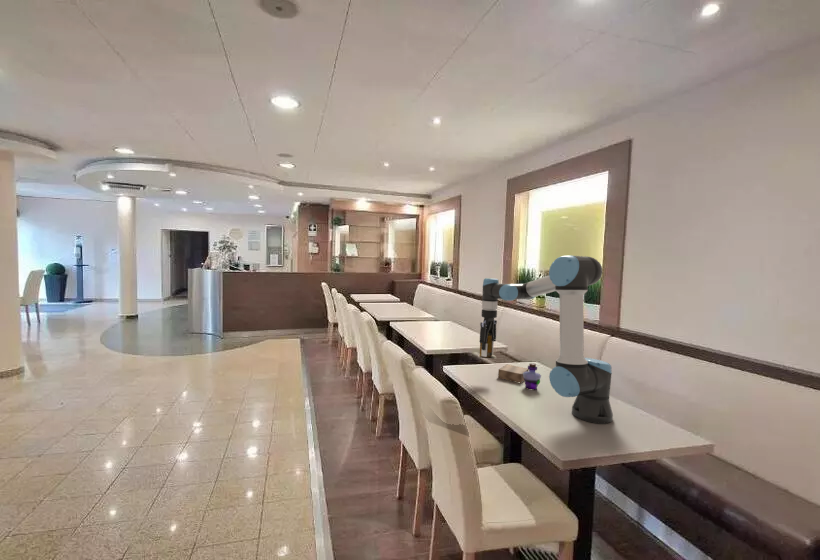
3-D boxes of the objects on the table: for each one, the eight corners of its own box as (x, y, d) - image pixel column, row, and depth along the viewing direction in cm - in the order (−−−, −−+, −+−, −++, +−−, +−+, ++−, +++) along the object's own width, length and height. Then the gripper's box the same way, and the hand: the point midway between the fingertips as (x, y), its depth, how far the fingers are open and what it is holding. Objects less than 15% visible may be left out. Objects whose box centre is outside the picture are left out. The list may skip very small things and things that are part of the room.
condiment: (478, 354, 201) (479, 331, 200) (495, 355, 200) (496, 332, 199) (479, 358, 194) (480, 334, 193) (496, 359, 193) (497, 335, 192)
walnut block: (528, 378, 207) (528, 368, 207) (520, 383, 197) (521, 374, 197) (506, 373, 214) (506, 364, 214) (498, 378, 204) (498, 369, 204)
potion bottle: (539, 392, 185) (540, 367, 184) (520, 389, 188) (521, 364, 188) (541, 387, 193) (543, 363, 192) (523, 383, 196) (525, 360, 195)
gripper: (491, 307, 205) (489, 350, 206) (473, 310, 190) (471, 357, 191) (504, 308, 200) (502, 353, 202) (487, 311, 185) (485, 360, 187)
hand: (487, 355), depth 197 cm, fingers closed on condiment, 6 cm apart
